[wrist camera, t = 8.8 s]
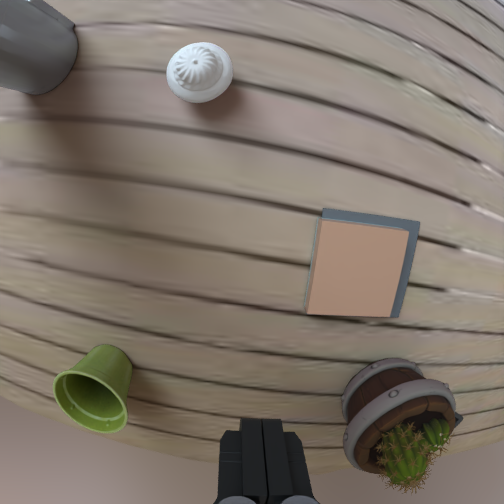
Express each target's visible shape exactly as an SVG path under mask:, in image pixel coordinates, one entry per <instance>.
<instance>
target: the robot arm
mask: <svg viewBox="0 0 504 504" xmlns="http://www.w3.org/2000/svg"><path fill="white" fill-rule="evenodd" d="M73 26H74V23H73V22H72V21H71V20H69V19H68V18H67V17H65V16H64V15H63V14H61V13H60V12H58V11H57V10H56V9H54V8H53V7H52V6H50V5H49V4H47V3H46V2H45V1H43V0H0V87H4V88H8V89H12V90H17V91H20V92H23V93H29V94H33V95H40V94H43V93H46V92H48V91H50V90H52V89H53V88H55V87H56V86H57V85H59V84H60V83H61V82H62V81H63V80H64V78H65V77H66V76H67V74H68V73H69V71H70V70H71V68H72V66H73V64H74V61H75V59H76V55H77V50H78V42H77V37H76V35H75V33H74V31H73ZM305 461H306V460H305V456H304V451H303V446H302V442H301V440H300V439H299V438H298V436H297V435H296V434H295V432H283V427H282V421H281V419H261V420H260V419H254V418H241V420H240V428H239V431H231V430H226V432H225V433H224V435H223V436H222V438H221V440H220V454H219V475H218V476H219V477H218V497H217V499H216V501H215V502H214V503H213V504H320V503H319V502H317V500H316V499H315V498H314V496H313V493H312V489H311V484H310V479H309V475H308V470H307V465H306V463H305Z"/></svg>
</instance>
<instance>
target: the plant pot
mask: <svg viewBox="0 0 504 504" xmlns="http://www.w3.org/2000/svg"><path fill="white" fill-rule="evenodd" d="M131 376H132V364H131V363H130V361H129V360H128V358H127V356H126V354H125V353H124V352H122V351H121V350H120V349H118V348H116V347H114V346H111V345H100V346H97V347H95V348H93V349H92V350H91V351H90V352H89V353H88V354H87V355H86V356H85V357H84V358H83V359H82V360H81V361H80V362H79V363H78V364H77V365H75V366H74V367H73V368H71V369H69V370H67V371H63V372H61V373H60V374H58V375H57V377H56V378H55V380H54V382H53V393H54V396H55V399H56V401H57V403H58V405H59V406H60V408H61V409H62V410H63V411H64V413H65V414H66V415H67V416H69V417H70V418H71V419H72V420H73V421H75V422H76V423H77V424H79V425H81V426H83V427H85V428H87V429H89V430H92V431H96V432H99V433H114V432H118V431H120V430H121V429H123V428H124V427H125V425H126V423H127V420H128V411H127V404H126V399H127V394H128V389H129V385H130V380H131Z"/></svg>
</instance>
